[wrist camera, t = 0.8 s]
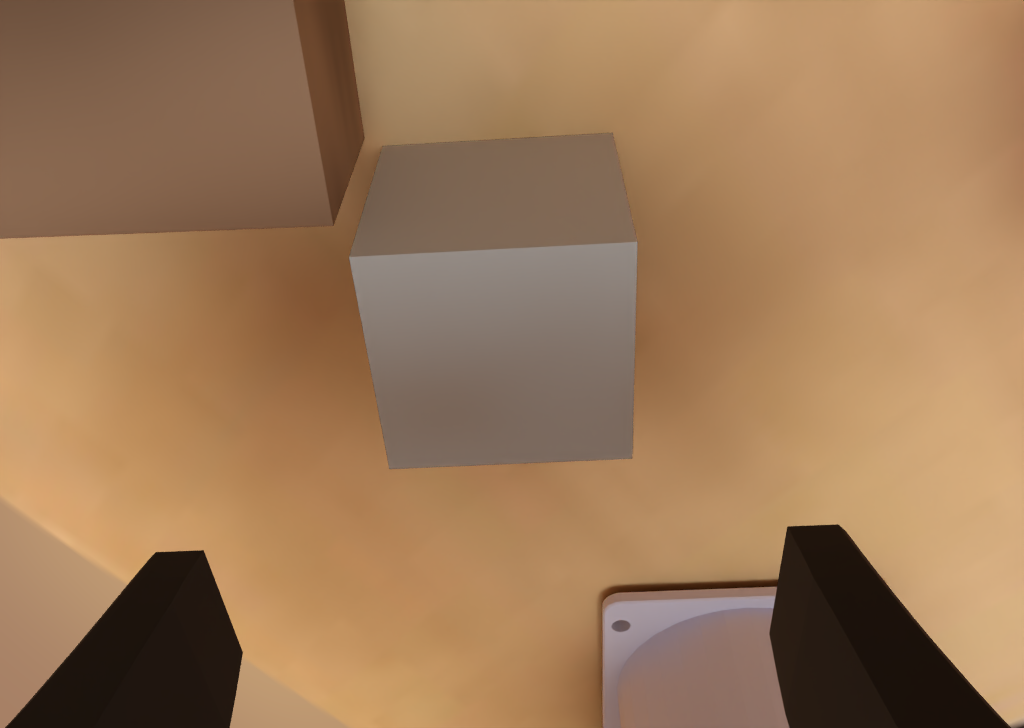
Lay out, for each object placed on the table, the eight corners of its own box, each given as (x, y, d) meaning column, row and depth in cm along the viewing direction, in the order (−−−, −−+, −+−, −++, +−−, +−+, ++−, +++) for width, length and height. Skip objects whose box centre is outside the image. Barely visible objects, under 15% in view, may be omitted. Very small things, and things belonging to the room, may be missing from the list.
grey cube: (611, 323, 20) (632, 458, 17) (411, 333, 20) (389, 468, 17) (612, 131, 18) (637, 241, 14) (383, 144, 18) (348, 257, 14)
